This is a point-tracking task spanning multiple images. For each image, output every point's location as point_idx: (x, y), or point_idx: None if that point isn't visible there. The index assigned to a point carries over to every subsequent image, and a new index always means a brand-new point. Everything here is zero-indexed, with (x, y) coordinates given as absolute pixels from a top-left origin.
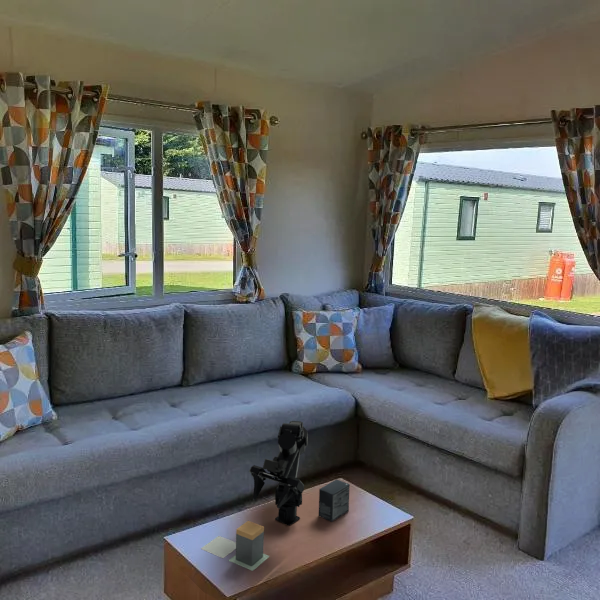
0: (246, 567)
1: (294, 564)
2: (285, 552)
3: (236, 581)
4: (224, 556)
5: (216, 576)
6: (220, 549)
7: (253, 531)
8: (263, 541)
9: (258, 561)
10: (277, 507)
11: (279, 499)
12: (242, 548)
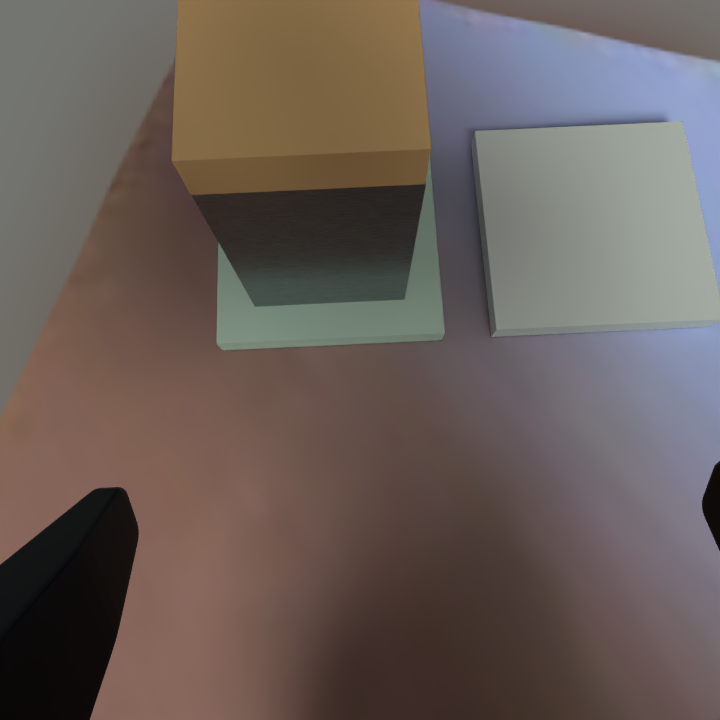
0: None
1: (31, 409)
2: (168, 498)
3: None
4: (483, 150)
5: None
6: (568, 193)
7: (218, 12)
8: (224, 251)
9: None
10: (102, 492)
11: (20, 604)
12: None
